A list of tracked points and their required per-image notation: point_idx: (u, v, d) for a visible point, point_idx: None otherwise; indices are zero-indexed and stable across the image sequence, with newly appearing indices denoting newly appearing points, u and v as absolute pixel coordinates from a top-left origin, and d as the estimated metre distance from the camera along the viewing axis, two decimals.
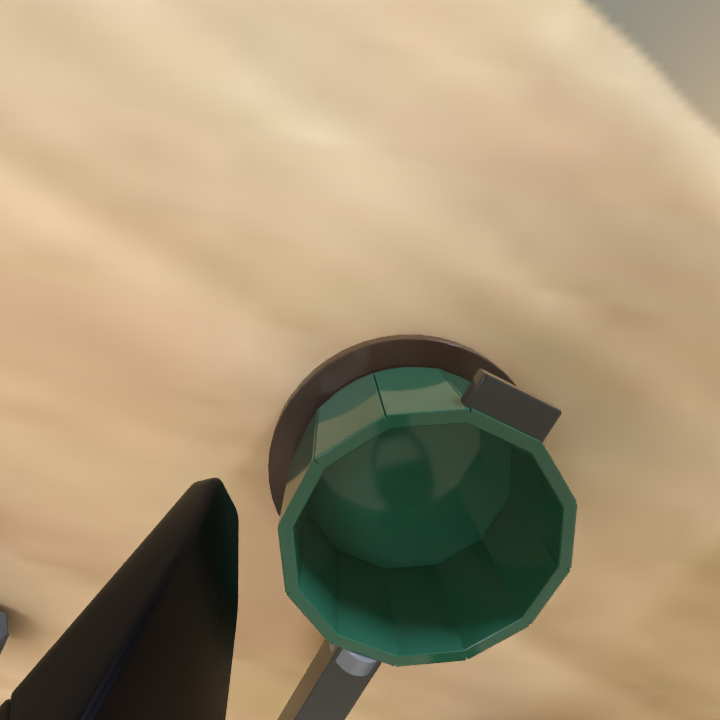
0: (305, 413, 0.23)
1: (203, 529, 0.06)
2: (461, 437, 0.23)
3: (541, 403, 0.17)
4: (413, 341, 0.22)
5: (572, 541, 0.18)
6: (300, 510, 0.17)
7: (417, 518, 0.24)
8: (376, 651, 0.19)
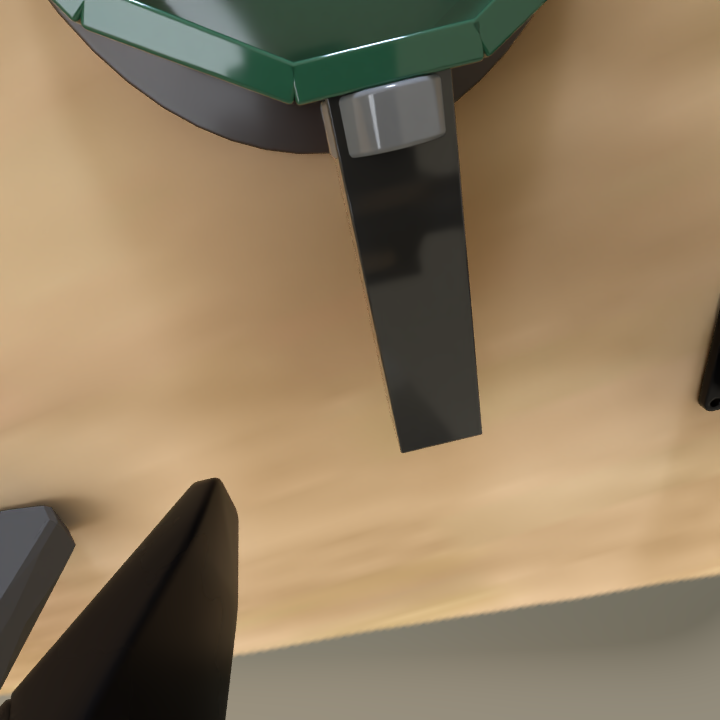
0: None
1: (203, 529, 0.06)
2: None
3: None
4: None
5: None
6: None
7: None
8: (413, 44, 0.07)
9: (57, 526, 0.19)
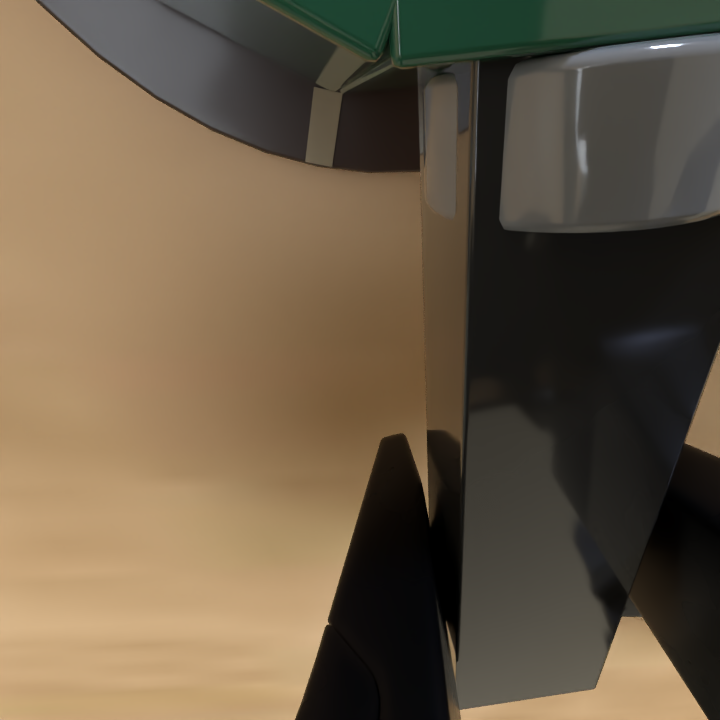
0: None
1: None
2: None
3: None
4: None
5: None
6: None
7: None
8: None
9: None
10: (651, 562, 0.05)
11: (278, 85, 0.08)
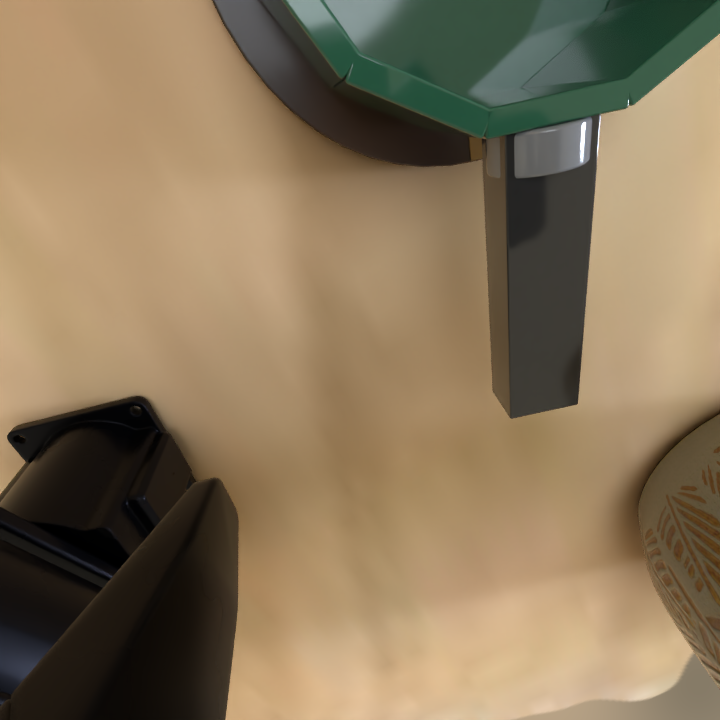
0: None
1: (203, 529, 0.06)
2: None
3: None
4: None
5: None
6: None
7: None
8: (579, 96, 0.09)
9: None
10: None
11: None
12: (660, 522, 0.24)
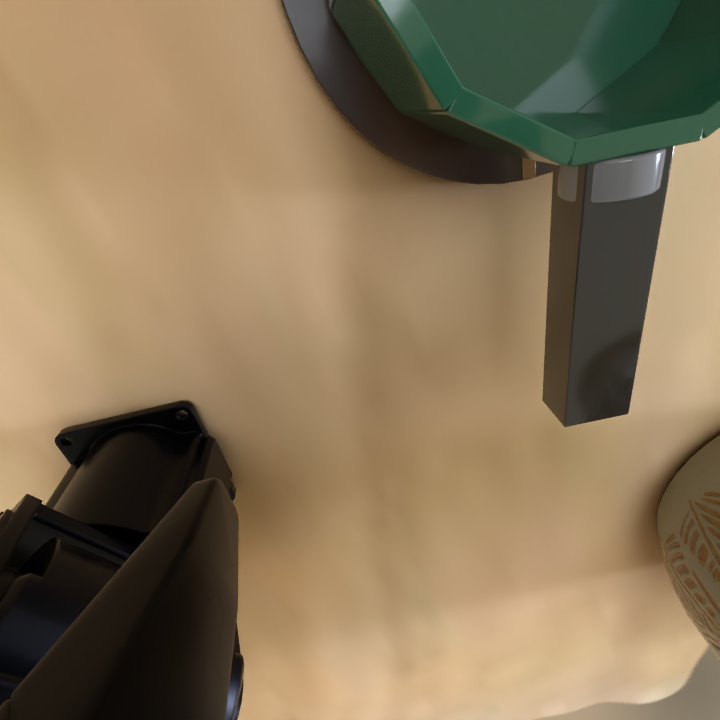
0: None
1: (203, 529, 0.06)
2: None
3: None
4: None
5: None
6: None
7: None
8: (657, 129, 0.10)
9: None
10: None
11: None
12: (683, 527, 0.24)
